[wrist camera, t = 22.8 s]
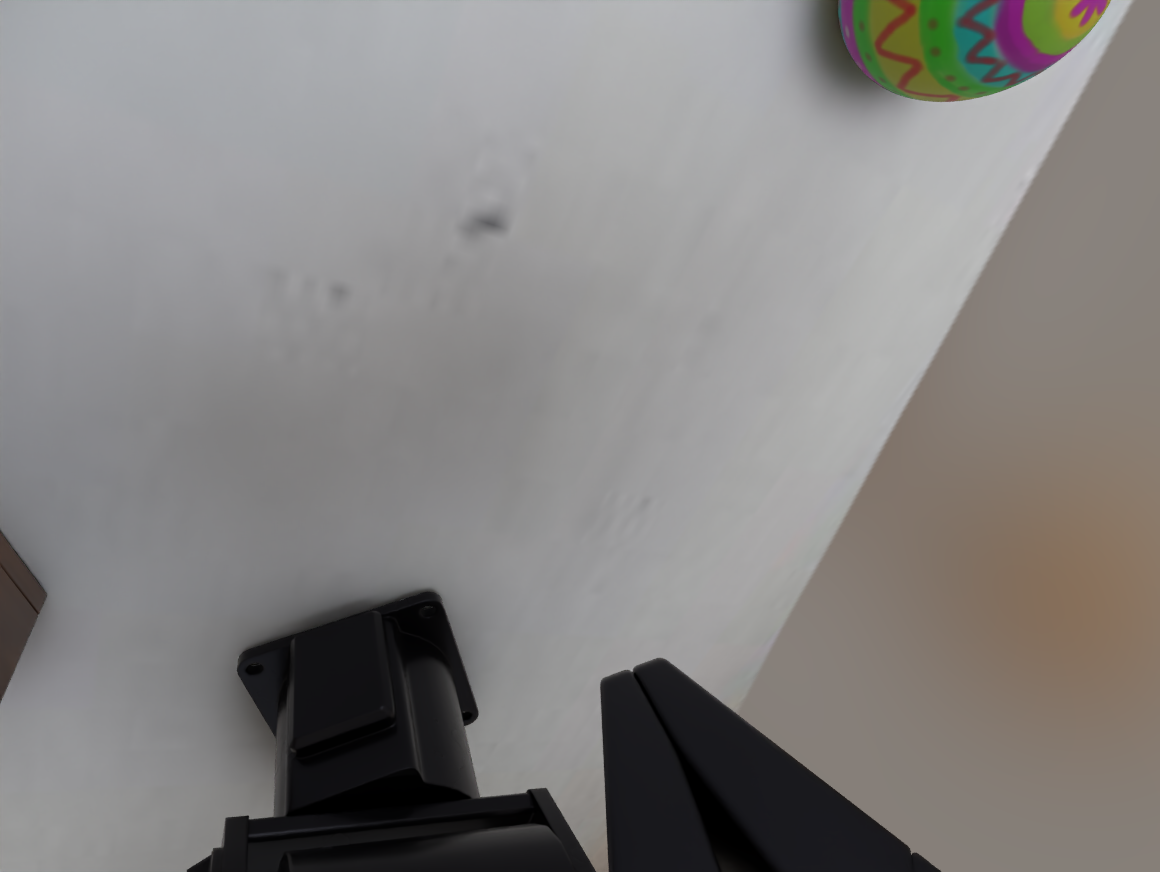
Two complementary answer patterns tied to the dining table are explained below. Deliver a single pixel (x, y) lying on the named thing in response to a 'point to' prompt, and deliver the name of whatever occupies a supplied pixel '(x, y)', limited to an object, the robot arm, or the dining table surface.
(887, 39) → the egg
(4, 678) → the cabinet
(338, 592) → the dining table surface
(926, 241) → the dining table surface
